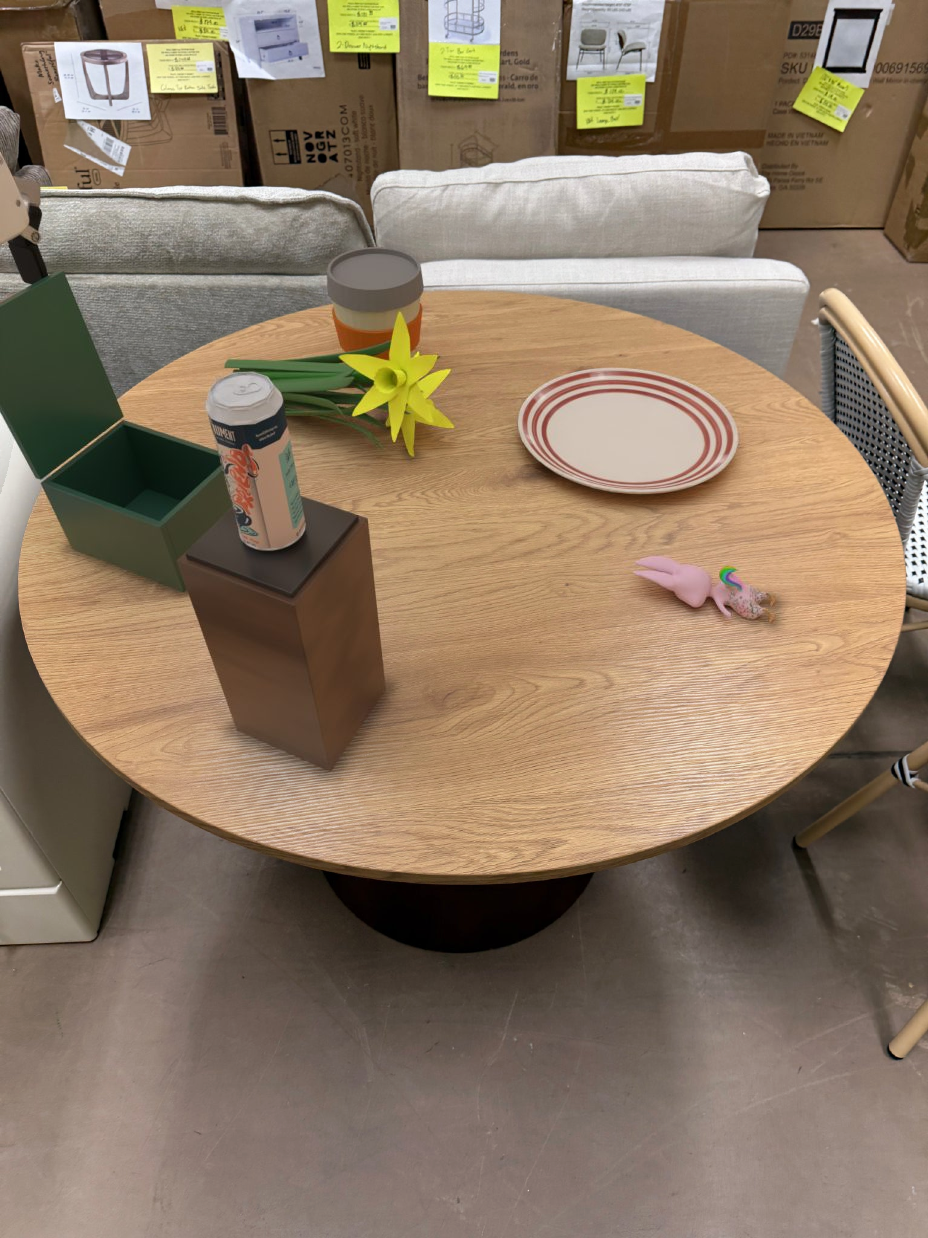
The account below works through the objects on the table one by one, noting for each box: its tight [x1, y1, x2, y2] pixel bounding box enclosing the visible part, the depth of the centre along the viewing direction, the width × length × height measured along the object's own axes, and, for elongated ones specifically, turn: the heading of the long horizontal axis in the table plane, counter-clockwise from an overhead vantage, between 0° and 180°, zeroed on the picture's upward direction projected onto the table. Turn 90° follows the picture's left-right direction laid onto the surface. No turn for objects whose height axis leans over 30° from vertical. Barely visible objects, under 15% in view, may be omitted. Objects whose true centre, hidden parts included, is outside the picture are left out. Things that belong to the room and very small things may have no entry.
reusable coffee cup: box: [326, 246, 425, 361], centre depth 109 cm, size 13×13×15 cm
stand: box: [177, 495, 387, 772], centre depth 68 cm, size 10×10×22 cm
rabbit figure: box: [632, 555, 779, 624], centre depth 84 cm, size 6×6×15 cm
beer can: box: [204, 372, 306, 550], centre depth 55 cm, size 5×5×12 cm
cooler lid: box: [0, 269, 125, 481], centre depth 81 cm, size 16×12×5 cm
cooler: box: [40, 419, 232, 593], centre depth 88 cm, size 15×12×10 cm
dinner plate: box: [517, 367, 740, 495], centre depth 103 cm, size 28×27×3 cm
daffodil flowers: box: [223, 311, 455, 458], centre depth 100 cm, size 17×15×35 cm
